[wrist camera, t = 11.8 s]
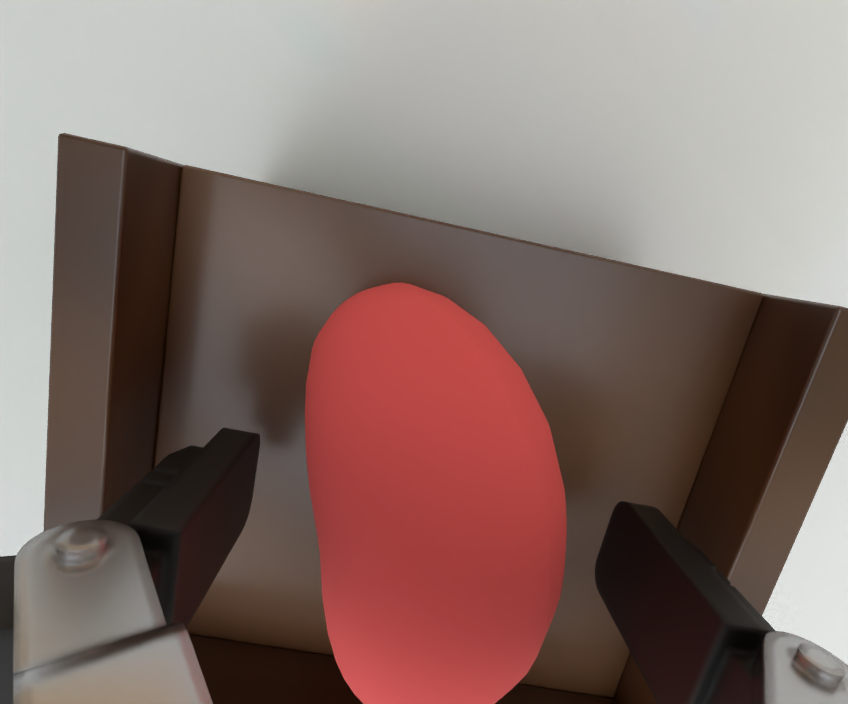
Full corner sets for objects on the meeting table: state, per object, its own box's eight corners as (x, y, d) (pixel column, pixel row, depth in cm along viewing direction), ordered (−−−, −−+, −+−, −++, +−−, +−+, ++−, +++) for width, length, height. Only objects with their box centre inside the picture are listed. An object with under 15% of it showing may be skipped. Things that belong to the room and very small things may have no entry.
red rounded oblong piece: (581, 340, 13) (592, 251, 7) (551, 706, 12) (533, 987, 6) (399, 327, 14) (281, 247, 8) (355, 649, 13) (178, 821, 7)
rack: (255, 190, 19) (56, 131, 8) (638, 274, 20) (895, 318, 9) (218, 483, 22) (35, 719, 11) (555, 542, 23) (679, 807, 12)
